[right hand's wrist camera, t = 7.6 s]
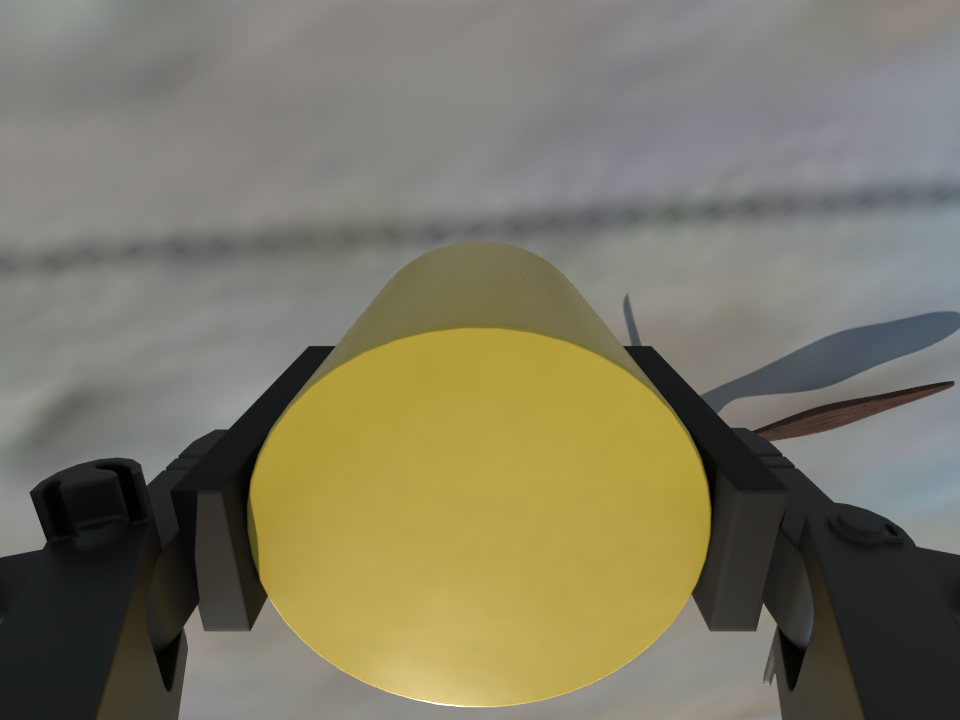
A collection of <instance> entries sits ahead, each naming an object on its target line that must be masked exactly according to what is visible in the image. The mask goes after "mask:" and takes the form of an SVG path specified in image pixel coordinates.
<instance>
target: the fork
mask: <svg viewBox="0 0 960 720" xmlns="http://www.w3.org/2000/svg"><path fill="white" fill-rule="evenodd" d="M952 386H954V381H949V382H941V383H935V384H930V385H925V386H919V387H914V388H910V389H905V390H900V391H895V392H891V393H886V394H881V395H876V396H870V397H864V398H859V399H853V400H847V401H842V402H837V403H832V404H828V405H823V406H820V407H816V408H813V409H810V410H807V411H804V412H801V413H798V414H796V415H793V416H790V417H788V418H785V419H783V420H780V421H777V422H775V423H772V424H770V425H767V426H765V427H762V428H759V429H757V430H754V431H752V432H754V433H756V434H757V435H759V436H761V437H763V438H765V439H767V440H768V441H775V440H781V439H787V438H793V437H799V436H805V435H810V434H815V433H820V432H824V431H828V430H831V429H835V428H838V427H841V426H844V425H847V424H850V423H852V422H855V421H858V420H861V419H863V418H866V417H869V416H872V415H874V414H877V413H880V412H883V411H886V410H888V409H891V408H894V407H897V406H900V405H903V404H906V403H909V402H912V401H915V400H918V399H921V398H924V397H927V396H929V395H932V394H935V393H938V392H940V391H943V390H945V389H948V388H950V387H952Z"/></svg>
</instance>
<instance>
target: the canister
mask: <svg viewBox="0 0 960 720" xmlns="http://www.w3.org/2000/svg"><path fill="white" fill-rule="evenodd" d="M711 510H712V508H711V500H710V492H709V483H708V479H707V476H706V473H705V469H704V466H703V462H702V459H701V456H700V454H699V452H698V450H697V448H696V446H695V444H694V441H693V439H692V437H691V435H690V433H689V431H688V430H687V428H686V427H685V425H684V424H683V423H682V421H681V420H680V418H679V417H678V415H677V414H676V412H675V411H674V410H673V408H672V407H671V406H670V404H669V403H668V402H667V401H666V399H665V398H664V397H663V396H662V394H661V393H660V392H659V391H658V389H657V388H656V387H655V386H654V384H653V383H652V382H651V381H650V380H649V378H648V377H647V376H646V375H645V373H644V372H643V371H642V370H641V368H640V367H639V366H638V365H637V363H636V362H635V361H634V360H633V358H632V357H631V356H630V355H629V353H628V352H627V351H626V350H625V348H624V347H623V346H622V345H621V344H620V342H619V341H618V340H617V339H616V337H615V336H614V335H613V334H612V332H611V331H610V330H609V329H608V327H607V326H606V325H605V324H604V322H603V321H602V320H601V319H600V317H599V316H598V315H597V314H596V312H595V311H594V310H593V309H592V308H591V306H590V305H589V304H588V303H587V301H586V300H585V299H584V298H583V296H582V295H581V294H580V293H579V291H578V290H577V289H576V288H575V286H574V285H573V284H572V283H571V282H570V281H569V280H568V279H567V278H566V277H565V276H564V274H563V273H561V272H560V271H559V270H558V269H556V268H555V267H554V266H553V265H551V264H550V263H549V262H547V261H545V260H544V259H542V258H540V257H539V256H537V255H535V254H533V253H530V252H528V251H526V250H523V249H521V248H517V247H514V246H510V245H507V244H501V243H494V242H465V243H457V244H453V245H449V246H445V247H441V248H438V249H436V250H433V251H431V252H429V253H426V254H424V255H422V256H421V257H419V258H417V259H415V260H414V261H412V262H410V263H409V264H408V265H407V266H405V267H404V268H403V269H401V270H400V271H399V272H398V273H397V274H396V275H395V276H394V277H393V278H392V279H391V280H390V281H389V282H388V283H387V284H386V285H385V287H384V288H383V289H382V290H381V291H380V293H379V294H378V295H377V296H376V298H375V299H374V300H373V301H372V303H371V304H370V305H369V306H368V307H367V309H366V310H365V311H364V312H363V314H362V315H361V316H360V317H359V319H358V320H357V321H356V322H355V323H354V325H353V326H352V327H351V328H350V330H349V331H348V332H347V333H346V334H345V336H344V337H343V338H342V339H341V341H340V342H339V343H338V344H337V346H336V347H335V348H334V349H333V350H332V352H331V353H330V354H329V355H328V357H327V358H326V359H325V360H324V362H323V363H322V364H321V365H320V366H319V368H318V369H317V370H316V371H315V373H314V374H313V375H312V376H311V377H310V379H309V380H308V381H307V382H306V384H305V385H304V386H303V387H302V389H301V390H300V391H299V392H298V393H297V395H296V396H295V397H294V398H293V400H292V401H291V402H290V403H289V405H288V406H287V407H286V409H285V410H284V411H283V413H282V414H281V416H280V417H279V418H278V420H277V421H276V423H275V424H274V425H273V427H272V428H271V430H270V432H269V434H268V436H267V438H266V440H265V442H264V444H263V446H262V448H261V450H260V452H259V454H258V457H257V460H256V463H255V466H254V470H253V473H252V476H251V479H250V486H249V493H248V500H247V533H248V538H249V544H250V549H251V554H252V558H253V561H254V564H255V567H256V570H257V573H258V576H259V579H260V581H261V583H262V585H263V587H264V589H265V591H266V593H267V595H268V596H269V598H270V600H271V602H272V604H273V605H274V606H275V608H276V609H277V611H278V612H279V613H280V615H281V616H282V618H283V619H284V621H285V622H286V623H287V624H288V625H289V626H290V627H291V629H292V630H293V631H294V632H295V633H296V634H297V635H298V636H299V637H300V638H301V639H302V640H303V641H304V642H305V643H306V644H307V645H308V646H310V647H311V648H312V649H313V650H314V651H315V652H317V653H318V654H319V655H320V656H321V657H323V658H324V659H326V660H327V661H329V662H330V663H332V664H333V665H335V666H336V667H338V668H339V669H340V670H342V671H344V672H346V673H348V674H349V675H351V676H353V677H355V678H357V679H359V680H361V681H363V682H365V683H367V684H369V685H372V686H374V687H377V688H379V689H382V690H384V691H387V692H389V693H393V694H396V695H400V696H403V697H406V698H410V699H413V700H418V701H423V702H429V703H434V704H439V705H449V706H459V707H498V706H510V705H519V704H524V703H530V702H535V701H541V700H545V699H548V698H552V697H556V696H559V695H563V694H566V693H569V692H571V691H574V690H577V689H579V688H582V687H584V686H587V685H589V684H592V683H594V682H596V681H598V680H599V679H601V678H603V677H605V676H607V675H609V674H611V673H613V672H615V671H616V670H618V669H619V668H621V667H622V666H624V665H625V664H627V663H628V662H630V661H631V660H633V659H635V658H636V657H637V656H638V655H639V654H641V653H642V652H643V651H644V650H645V649H647V648H648V647H649V646H650V645H651V644H653V643H654V642H655V641H656V640H657V639H658V638H659V636H660V635H661V634H662V633H663V632H664V631H665V630H666V629H667V628H668V627H669V626H670V625H671V624H672V622H673V621H674V619H675V618H676V617H677V615H678V614H679V613H680V611H681V610H682V609H683V607H684V606H685V604H686V603H687V601H688V599H689V597H690V595H691V593H692V591H693V590H694V588H695V586H696V584H697V582H698V579H699V576H700V574H701V571H702V568H703V565H704V563H705V560H706V555H707V550H708V545H709V540H710V535H711Z"/></svg>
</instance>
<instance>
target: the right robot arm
mask: <svg viewBox="0 0 960 720" xmlns="http://www.w3.org/2000/svg"><path fill="white" fill-rule="evenodd" d="M335 347H336V346H309V347H308V348H307V349H306V350H305V351H304V352H303V353H302V354H301V355H300V356H299V357H298V358H297V359H296V360H295V361H294V362H293V363H292V364H291V365H290V367H289V368H288V369H287V370H286V371H285V372H284V373H283V374H282V375H281V376H280V377H279V378H278V379H277V380H276V381H275V382H274V383H273V384H272V385H271V386H270V387H269V388H268V389H267V390H266V391H265V392H264V393H263V395H262V396H261V397H260V398H259V399H258V400H257V401H256V402H255V403H254V404H253V405H252V406H251V407H250V408H249V409H248V410H247V411H246V412H245V413H244V414H243V415H242V416H241V417H240V418H239V419H238V420H237V421H236V422H235V424H234V425H233V426H232V427H231V428H230V429H229V430H214V431H212V432H210V433H208V434H207V435H205V436H203V437H201V438H199V439H197V440H195V441H194V442H192V443H191V444H190V445H189V446H188V447H187V448H186V449H185V450H184V451H183V452H182V453H181V454H180V455H179V458H178V459H175V460H173V461H172V462H171V463H170V464H169V465H168V466H167V467H166V471H162V472H161V473H160V474H159V475H158V476H157V477H156V478H155V479H154V480H152V481H151V482H150V483H149V484H148V485H147V486H146V483H145V479H144V476H143V472H142V468H141V464H139V463H137V462H136V461H134V460H133V459H125V458H108V459H99V460H94V461H90V462H86V463H82V464H78V465H75V466H73V467H70V468H68V469H65V470H62V471H60V472H57V473H56V474H54V475H52V476H50V477H49V478H47V479H45V480H43V481H42V482H40V483H39V484H38V485H37V486H36V487H35V488H34V489H33V490H32V491H31V492H30V495H31V498H32V501H33V504H34V506H35V509H36V512H37V515H38V518H39V520H40V523H41V526H42V529H43V531H44V534H45V537H46V540H47V543H46V544H45V546H44V548H43V549H42V550H37V551H32V552H27V553H22V554H17V555H12V556H6V557H1V558H0V720H178V716H179V709H180V701H181V694H182V687H183V680H184V673H185V666H186V659H187V652H188V646H187V639H186V635H185V631H184V627H183V626H184V625H185V623H186V622H187V620H188V619H189V617H190V616H191V614H192V612H193V611H194V609H195V608H196V606H197V605H198V607H199V612H200V616H201V620H202V624H203V628H204V631H251V629H252V627H253V625H254V623H255V621H256V619H257V617H258V615H259V613H260V611H261V609H262V607H263V605H264V603H265V601H266V599H267V597H268V595H267V593H266V591H265V589H264V587H263V585H262V583H261V581H260V579H259V576H258V573H257V570H256V567H255V564H254V561H253V558H252V554H251V549H250V544H249V538H248V533H247V500H248V493H249V486H250V479H251V476H252V473H253V470H254V466H255V463H256V460H257V457H258V454H259V452H260V450H261V448H262V446H263V444H264V442H265V440H266V438H267V436H268V434H269V432H270V430H271V428H272V427H273V425H274V424H275V423H276V421H277V420H278V418H279V417H280V416H281V414H282V413H283V411H284V410H285V409H286V407H287V406H288V405H289V403H290V402H291V401H292V400H293V398H294V397H295V396H296V395H297V393H298V392H299V391H300V390H301V389H302V387H303V386H304V385H305V384H306V382H307V381H308V380H309V379H310V377H311V376H312V375H313V374H314V373H315V371H316V370H317V369H318V368H319V366H320V365H321V364H322V363H323V362H324V360H325V359H326V358H327V357H328V355H329V354H330V353H331V352H332V350H333V349H334V348H335ZM623 347H624V348H625V350H626V351H627V352H628V353H629V355H630V356H631V357H632V358H633V360H634V361H635V362H636V363H637V365H638V366H639V367H640V368H641V370H642V371H643V372H644V373H645V375H646V376H647V377H648V378H649V380H650V381H651V382H652V383H653V384H654V386H655V387H656V388H657V389H658V391H659V392H660V393H661V394H662V396H663V397H664V398H665V399H666V401H667V402H668V403H669V404H670V406H671V407H672V408H673V410H674V411H675V412H676V414H677V415H678V417H679V418H680V420H681V421H682V423H683V424H684V425H685V427H686V428H687V430H688V431H689V433H690V435H691V437H692V439H693V441H694V444H695V446H696V448H697V450H698V452H699V454H700V456H701V459H702V462H703V466H704V469H705V473H706V476H707V479H708V483H709V492H710V500H711V508H712V510H711V535H710V540H709V545H708V550H707V555H706V560H705V563H704V565H703V568H702V571H701V574H700V576H699V579H698V582H697V584H696V586H695V588H694V590H693V591H692V593H691V594H692V596H693V598H694V600H695V602H696V604H697V606H698V608H699V610H700V612H701V614H702V616H703V618H704V620H705V622H706V624H707V626H708V628H709V630H710V631H756V629H757V625H758V621H759V617H760V613H761V609H762V605H763V603H764V605H765V606H766V608H767V609H768V611H769V612H770V614H771V615H772V617H773V618H774V620H775V621H776V623H777V627H776V631H775V635H774V638H773V642H772V646H771V650H770V654H769V657H768V661H767V665H766V669H765V673H764V679H763V683H764V684H767V685H770V686H771V683H772V679H773V675H774V674H775V673H776V679H777V686H778V693H779V700H780V707H781V714H782V720H960V555H956V554H951V553H946V552H941V551H936V550H930V549H925V548H920V547H916V545H915V543H914V542H913V540H912V539H911V538H910V537H909V536H908V535H907V533H906V532H905V531H904V530H903V529H902V528H900V527H899V526H897V525H896V524H894V523H893V522H891V521H890V520H888V519H887V518H885V517H882V516H880V515H878V514H876V513H874V512H871V511H869V510H867V509H863V508H860V507H856V506H852V505H849V504H842V503H834V502H833V501H832V500H831V499H830V498H829V497H828V496H826V495H825V494H824V493H823V492H822V491H821V490H820V489H819V488H818V487H817V486H816V485H815V484H814V483H813V482H812V481H811V480H809V479H808V478H807V477H806V476H805V475H804V474H803V473H802V472H801V471H800V470H799V469H795V465H794V464H793V463H791V462H790V461H789V460H788V459H787V458H786V457H783V456H782V453H781V452H780V451H779V450H778V449H777V448H776V447H774V446H773V445H772V444H771V443H770V442H769V441H768V440H767V439H765V438H763V437H761V436H759V435H757V434H756V433H754V432H752V431H750V430H748V429H746V428H730V427H729V426H728V425H727V424H726V423H725V422H724V421H723V420H722V419H721V418H720V417H719V416H718V415H717V414H716V413H715V412H714V411H713V410H712V409H711V408H710V407H709V406H708V404H707V403H706V402H705V401H704V400H703V399H702V398H701V397H700V396H699V395H698V394H697V393H696V392H695V391H694V390H693V389H692V388H691V387H690V386H689V385H688V384H687V383H686V382H685V381H684V380H683V379H682V378H681V377H680V375H679V374H678V373H677V372H676V371H675V370H674V369H673V368H672V367H671V366H670V365H669V364H668V363H667V362H666V361H665V360H664V359H663V358H662V357H661V356H660V355H659V354H658V353H657V352H656V351H655V350H654V349H653V347H652V346H623Z"/></svg>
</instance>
